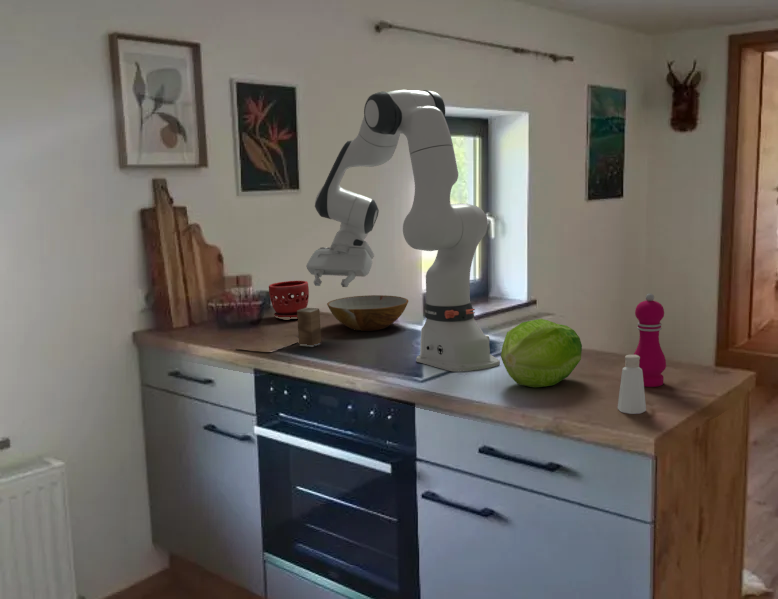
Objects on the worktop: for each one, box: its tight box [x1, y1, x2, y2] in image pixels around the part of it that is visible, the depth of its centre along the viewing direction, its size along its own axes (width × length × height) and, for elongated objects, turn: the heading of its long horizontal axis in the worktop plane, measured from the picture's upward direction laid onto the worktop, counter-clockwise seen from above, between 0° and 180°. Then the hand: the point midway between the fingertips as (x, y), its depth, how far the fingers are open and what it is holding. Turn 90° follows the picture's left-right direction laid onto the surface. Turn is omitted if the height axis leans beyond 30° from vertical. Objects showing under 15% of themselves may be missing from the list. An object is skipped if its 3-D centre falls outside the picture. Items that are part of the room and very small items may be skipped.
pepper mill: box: [633, 293, 667, 388], centre depth 177 cm, size 7×7×20 cm
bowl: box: [326, 294, 409, 332], centre depth 250 cm, size 25×25×8 cm
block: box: [297, 307, 322, 345], centre depth 228 cm, size 4×4×10 cm
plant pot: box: [268, 280, 310, 318], centre depth 269 cm, size 13×13×12 cm
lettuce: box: [500, 318, 583, 388], centre depth 180 cm, size 15×23×16 cm
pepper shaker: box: [617, 354, 647, 415], centre depth 159 cm, size 5×5×11 cm
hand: (330, 285), depth 236 cm, fingers open, 8 cm apart
